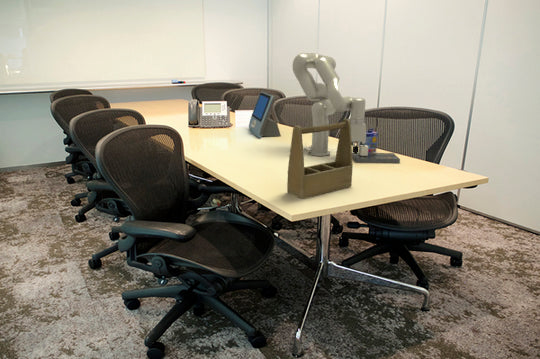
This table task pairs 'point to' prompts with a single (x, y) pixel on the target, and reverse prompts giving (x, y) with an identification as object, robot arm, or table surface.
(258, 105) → the touchscreen device
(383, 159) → the panel
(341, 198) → the table surface
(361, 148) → the fader
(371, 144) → the ink cartridge box
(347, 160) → the caddy
